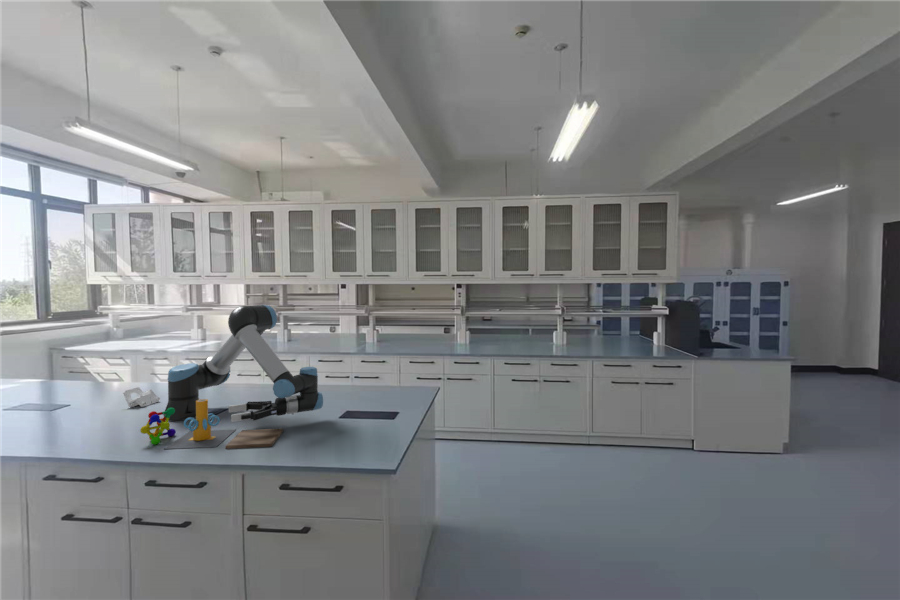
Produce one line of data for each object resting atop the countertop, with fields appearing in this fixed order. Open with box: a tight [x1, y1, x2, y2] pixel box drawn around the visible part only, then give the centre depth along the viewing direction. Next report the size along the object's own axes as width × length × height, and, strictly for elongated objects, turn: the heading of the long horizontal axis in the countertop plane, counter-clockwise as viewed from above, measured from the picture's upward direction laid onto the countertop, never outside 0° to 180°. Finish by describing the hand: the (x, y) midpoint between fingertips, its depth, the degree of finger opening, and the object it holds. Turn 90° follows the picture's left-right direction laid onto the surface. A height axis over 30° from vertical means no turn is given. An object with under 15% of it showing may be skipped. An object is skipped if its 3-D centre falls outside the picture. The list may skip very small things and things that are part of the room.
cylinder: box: [183, 398, 221, 441], centre depth 153 cm, size 12×10×15 cm
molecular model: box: [140, 408, 177, 445], centre depth 152 cm, size 12×7×12 cm, turn 0°
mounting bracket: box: [122, 386, 161, 408], centre depth 198 cm, size 12×6×11 cm, turn 176°
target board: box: [225, 428, 284, 450], centre depth 153 cm, size 16×16×1 cm
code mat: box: [163, 429, 236, 450], centre depth 153 cm, size 18×18×1 cm
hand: (229, 413), depth 158 cm, fingers open, 13 cm apart
